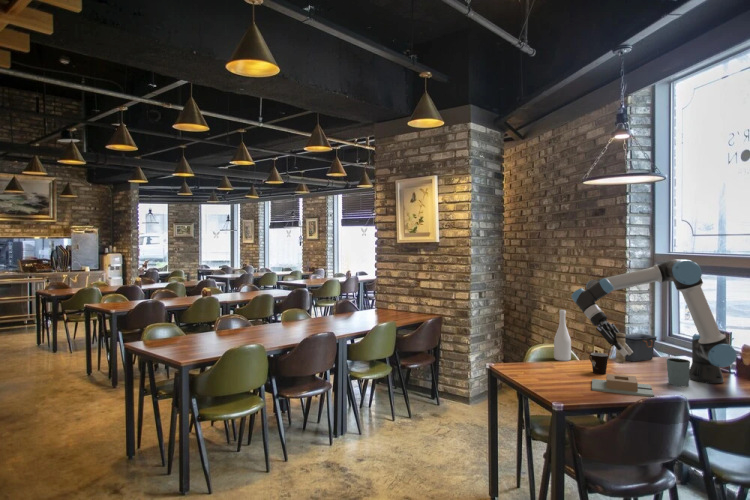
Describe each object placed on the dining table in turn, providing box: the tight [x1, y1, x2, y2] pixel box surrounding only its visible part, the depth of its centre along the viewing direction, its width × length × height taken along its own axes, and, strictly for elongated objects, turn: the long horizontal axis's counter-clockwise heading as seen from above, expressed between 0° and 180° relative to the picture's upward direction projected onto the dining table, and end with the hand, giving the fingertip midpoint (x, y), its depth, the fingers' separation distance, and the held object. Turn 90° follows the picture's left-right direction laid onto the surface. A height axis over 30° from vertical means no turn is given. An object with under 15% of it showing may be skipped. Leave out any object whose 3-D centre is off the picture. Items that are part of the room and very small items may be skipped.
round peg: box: [615, 332, 626, 364], centre depth 239 cm, size 4×4×14 cm
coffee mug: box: [588, 352, 609, 375], centre depth 270 cm, size 12×9×10 cm
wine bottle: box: [553, 309, 572, 362], centre depth 300 cm, size 10×10×30 cm
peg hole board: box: [591, 373, 655, 398], centre depth 239 cm, size 26×18×5 cm
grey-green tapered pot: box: [666, 357, 691, 387], centre depth 247 cm, size 10×10×12 cm
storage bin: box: [625, 333, 658, 362], centre depth 299 cm, size 21×16×14 cm
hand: (628, 354), depth 236 cm, fingers closed on round peg, 4 cm apart
